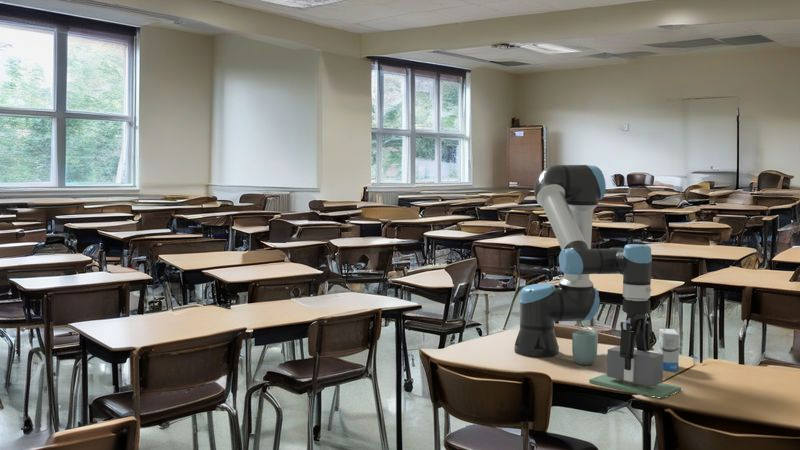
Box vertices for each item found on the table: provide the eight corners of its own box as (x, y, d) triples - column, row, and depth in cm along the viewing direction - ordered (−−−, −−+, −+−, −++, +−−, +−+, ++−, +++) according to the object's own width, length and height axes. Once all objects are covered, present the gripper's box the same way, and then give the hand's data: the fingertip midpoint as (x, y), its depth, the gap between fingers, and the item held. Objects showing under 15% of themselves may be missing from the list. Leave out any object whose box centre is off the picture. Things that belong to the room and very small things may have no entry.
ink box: (678, 371, 221) (679, 334, 220) (662, 370, 222) (663, 333, 221) (673, 364, 229) (674, 328, 229) (657, 364, 230) (658, 328, 230)
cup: (601, 363, 230) (601, 333, 230) (589, 368, 225) (590, 336, 224) (579, 359, 236) (580, 329, 235) (567, 363, 230) (568, 333, 229)
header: (589, 382, 207) (589, 364, 207) (610, 375, 216) (610, 357, 216) (661, 399, 192) (662, 379, 192) (681, 390, 200) (681, 371, 200)
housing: (607, 376, 207) (607, 349, 206) (617, 372, 211) (617, 346, 210) (652, 386, 197) (653, 357, 196) (662, 382, 201) (663, 354, 200)
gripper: (632, 304, 193) (630, 387, 194) (664, 296, 206) (662, 375, 208) (607, 300, 198) (605, 382, 200) (639, 293, 212) (638, 370, 213)
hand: (634, 378), depth 204 cm, fingers closed on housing, 6 cm apart
